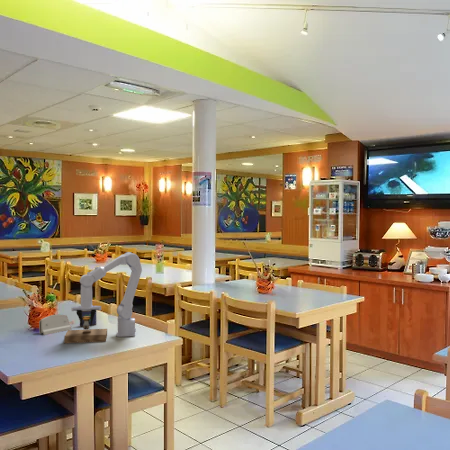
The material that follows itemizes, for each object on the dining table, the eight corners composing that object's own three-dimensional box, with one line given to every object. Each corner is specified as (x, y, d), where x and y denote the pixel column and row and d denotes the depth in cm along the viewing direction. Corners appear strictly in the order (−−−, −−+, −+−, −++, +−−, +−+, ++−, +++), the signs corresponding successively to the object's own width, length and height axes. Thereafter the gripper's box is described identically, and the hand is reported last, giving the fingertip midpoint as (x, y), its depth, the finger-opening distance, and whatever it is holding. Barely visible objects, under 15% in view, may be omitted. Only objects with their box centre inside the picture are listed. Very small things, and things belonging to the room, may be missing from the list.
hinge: (43, 335, 241) (40, 316, 243) (39, 336, 244) (36, 318, 246) (72, 329, 254) (69, 311, 256) (68, 330, 257) (65, 313, 259)
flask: (96, 324, 266) (96, 306, 265) (96, 325, 263) (96, 307, 263) (79, 325, 262) (79, 307, 262) (80, 326, 260) (79, 308, 259)
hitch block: (107, 335, 242) (107, 328, 242) (105, 341, 231) (105, 334, 231) (67, 336, 239) (67, 330, 238) (64, 343, 227) (64, 336, 227)
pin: (92, 327, 236) (92, 316, 236) (88, 329, 232) (89, 317, 232) (83, 327, 236) (83, 316, 236) (80, 329, 232) (80, 317, 232)
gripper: (101, 296, 239) (101, 322, 240) (72, 297, 236) (72, 323, 237) (100, 298, 232) (100, 325, 233) (70, 299, 230) (70, 326, 230)
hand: (86, 324), depth 234 cm, fingers closed on pin, 4 cm apart
